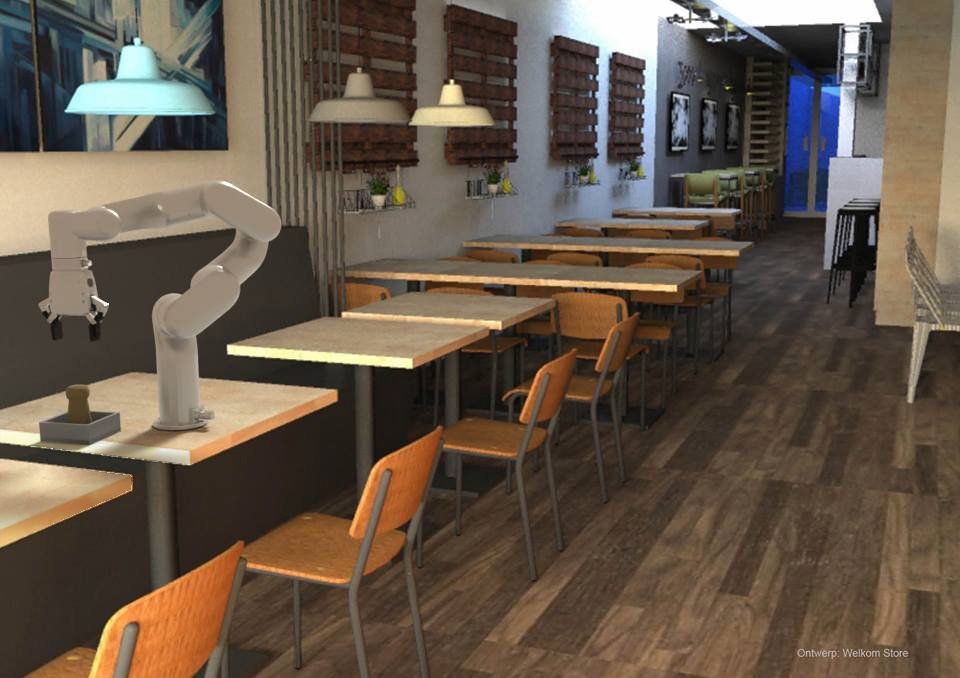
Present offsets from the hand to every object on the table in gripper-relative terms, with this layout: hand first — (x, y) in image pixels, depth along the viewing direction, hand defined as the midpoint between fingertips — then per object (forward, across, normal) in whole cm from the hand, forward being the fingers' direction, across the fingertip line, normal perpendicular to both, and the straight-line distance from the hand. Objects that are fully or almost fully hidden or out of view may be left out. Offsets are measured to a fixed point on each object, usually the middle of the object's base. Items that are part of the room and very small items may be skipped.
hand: (76, 339), depth 246 cm
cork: (+22, +1, 0) cm, 22 cm away
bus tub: (+23, +1, 0) cm, 23 cm away
